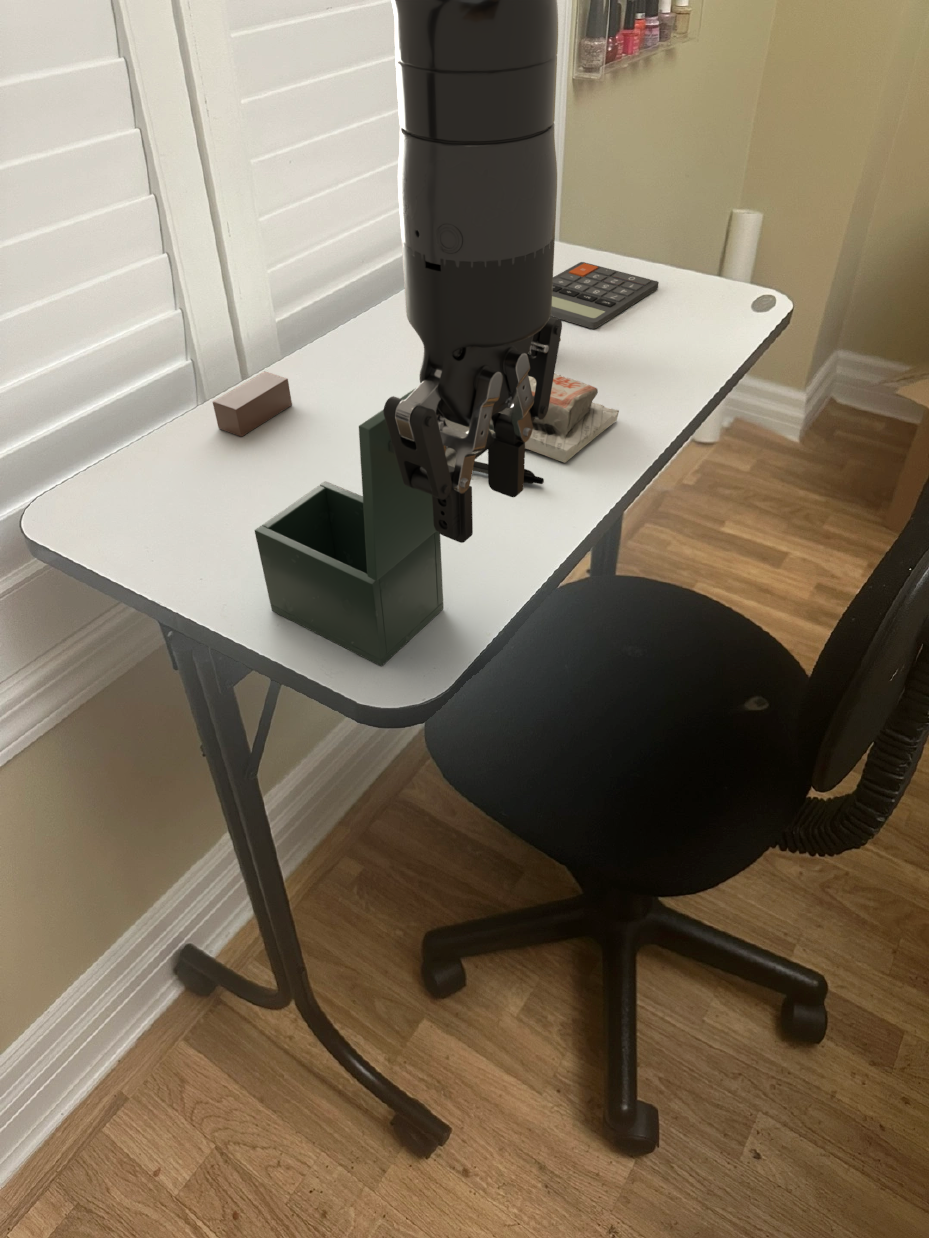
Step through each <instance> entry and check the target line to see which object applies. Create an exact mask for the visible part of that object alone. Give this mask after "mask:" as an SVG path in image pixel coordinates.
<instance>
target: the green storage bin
mask: <svg viewBox="0 0 929 1238" xmlns="http://www.w3.org/2000/svg"><path fill="white" fill-rule="evenodd" d="M254 535H255V540H256V545H257V549H258V554H259V558H260V562H261V566H262V567H261V568H262V572H263V577H264V581H265V586H266V590H267V595H268V601H269V603H270V608H271V611H272V612H274V613H276V614H277V615H280V616H282V617H283V618H285V619H287V620H288V621H289V620H290V621H292V622H293V623H295V624H297V625H299V626H301V627H303V628H305V629H307V630H308V631H311V632H312V633H315V634H317V635H318V636H321V637H323V638H325V639H327V640H329V641H331V642H332V643H334V644H336V645H338V646H340V647H342V648H345V649H346V650H348V651H350V652H352V653H354V654H356V655H358V656H359V657H362V658H364V659H365V660H368V661H370V662H372V663H374V664H376V665H378V666H380V667H383V666H384V665H385V664H386V663H387V662H388V661H390V659H391V658H393V656H394V655H396V654H397V653H398V652H399V651H400V650H401V649H402V648H403V647H404V646H405V645H407V644H408V643H409V642H410V641H411V640H412V639H413V638H415V636H416V635H417V634H418V633H419V632H420V631H421V630H423V629H424V628H425V626H427V625H428V624H429V623H430V622H431V621H432V620H433V619H435V617H436V616H437V615H439V613H441V612H442V611H443V610H444V592H443V591H444V589H443V588H444V586H443V567H442V566H443V565H442V563H443V562H442V549H441V548H442V543H441V542H442V541H441V534H440V533H439V532H438V531H436V532H434V533H433V534H432V535H431V536H430V537H428V538H427V539H426V540H425V541H424V542H422V543H421V544H420V545H419V546H418V547H416V548H415V549H414V550H413V551H412V552H410V553H409V554H408V555H407V556H406V557H405V558H403V559H402V560H401V561H400V562H399V563H397V564H396V565H395V566H394V567H393V568H391V569H390V570H389V571H388V572H387V573H385V574H384V575H383V576H382V577H381V578H379V579H378V580H377V581H375V580H373V579H371V578H369V577H368V576H367V560H366V543H365V526H364V509H363V495H361V494H358V493H356V492H354V491H352V490H348V489H346V488H344V487H341V486H338V485H337V484H334V483H332V482H329V481H327V480H324V481H323V482H321V483H320V484H319V485H317V486H316V487H314V488H313V489H311V490H310V491H309V492H307V493H306V494H305V495H303V496H302V497H300V498H298V499H297V500H296V501H294V502H292V504H290V505H288V506H287V507H285V509H283V510H281V511H280V512H278V513H277V514H276V515H274V516H273V517H271V518H270V519H268V520H267V521H265V522H264V523H263V524H261V525H259V526H258V527H256V528H255V529H254Z"/></svg>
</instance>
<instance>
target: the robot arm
mask: <svg viewBox="0 0 929 1238" xmlns="http://www.w3.org/2000/svg"><path fill="white" fill-rule="evenodd" d="M391 5H392V10H393V16H394V17H393V18H394V47H395V48H394V55H395V68H396V69H395V71H396V72H395V73H396V75H395V76H396V89H397V102H398V103H397V106H398V107H397V108H398V121H399V149H398V150H399V151H398V152H399V154H398V163H397V165H398V167H397V191H398V205H399V221H400V223H399V224H400V239H401V253H402V255H401V256H402V269H403V271H402V272H403V285H404V301H405V314H406V318H407V320H408V323H409V324H410V326H411V327H412V329H413V331H415V333H416V335H418V337H419V339H420V340H421V342H422V345H423V355H422V362H421V366H420V370H419V385H418V386H416V387H417V388H416V387H415V388H416V389H415V388H414V389H415V390H414V391H413V392H412V393H411V394H410V395H409V396H408V398H407V399H405V400H403V399H400V398H401V397H397V396H394V395H393V396H390V397H389V398H387V400H386V401H385V403H384V407H383V409H384V417H385V421H386V424H387V428H388V431H389V434H390V438H391V441H392V445H393V448H394V452H395V455H396V459H397V462H398V466H399V469H400V472H401V476H402V479H403V483H404V485H405V486H408V487H410V488H413V489H414V488H415V489H417V490H420V491H423V492H425V493H428V494H430V495H432V503H433V517H434V518H433V522H434V527H435V530H436V531H438V532H439V533H440V536H443V537H446V538H448V539H451V540H453V541H455V542H458V543H461V544H464V543H465V542H467V541H468V539H470V538H471V537H472V536H473V534H474V530H473V529H474V527H473V526H474V525H473V520H474V519H473V486H472V485H471V482H472V476H473V472H474V471H473V466H474V461H476V459H475V456H476V454H477V453H478V452H481V451H483V450H484V448H485V446H486V441H487V436H488V431H489V430H490V431H493V432H495V433H493V434H492V436H493V444H492V446H491V447H490V448H489V449H488V450H487V464H488V474H487V480H488V481H487V484H488V486H489V488H490V489H491V490H492V491H494V492H496V493H499V494H501V495H504V496H507V497H510V498H516V497H518V495H520V494H521V493H522V492H523V491H524V484H525V483H524V469H525V465H526V464H525V460H526V459H525V458H526V457H525V456H526V448H525V442H527V441H528V440H529V438H530V437H531V434H532V430H533V425H532V422H533V421H534V419H535V418H537V419H540V420H542V419H544V417H545V416H546V414H547V412H548V408H549V402H550V396H551V390H552V384H553V378H554V373H555V371H556V366H557V360H558V355H559V348H560V342H561V341H560V338H561V336H562V329H563V322H562V321H563V320H562V319H558V318H555V317H552V316H550V315H551V309H552V287H553V277H554V266H555V265H554V264H555V263H554V261H555V241H556V221H557V220H556V218H557V198H558V163H557V161H558V160H557V153H556V152H557V151H556V138H555V121H556V119H555V118H556V116H555V115H556V96H557V95H556V93H557V72H558V71H557V70H558V50H559V9H558V0H391ZM529 376H530V377H533V378H535V380H536V389H535V395H534V396H533V395H532V390H531V385H530V381H529ZM445 418H446V419H447V420H449V421H451V422H454V423H457V424H460V425H463V426H466V427H469V432H468V434H466V433H463V432H461V431H458V430H455V429H452V428H449V427H448V426H447V425H446V422H445ZM446 447H449V448H452V449H454V450H455V451H456V453H457V458H456V463H455V468H454V467H452V466H449V465H448V464H447V460H446V455H445V453H446Z"/></svg>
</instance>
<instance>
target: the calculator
mask: <svg viewBox="0 0 929 1238" xmlns="http://www.w3.org/2000/svg"><path fill="white" fill-rule="evenodd" d="M659 283H660V282H659V281H658V280H654V279H651V278H646V277H642V276H638V275H635V274H631V273H628V272H623V271H619V270H615V269H612V268H609V267H604V266H600V265H596V264H592V263H588V262H584V261H580V262H578V263H577V264H574V265H573V266H571V267H569V268H567V269H565V270H563V271H561V272H560V273H558V274H556V275H555V276H554V275H553V287H552V289H553V293H552V309H551V315H550V317H553V318H557V319H560V320H561V321H565V322H568V323H571V324H575V325H579V326H582V327H585V328H589V329H592V330H595V329H597V328H599V327H600V326H602V325H603V324H605V323H606V322H608V321H609V320H611V319H613V318H614V317H616V316H617V315H619V314H621V313H622V312H624V311H625V310H627V309H628V308H630V307H632V306H633V305H635V304H636V303H638V302H640V301H641V300H643V299H644V298H645V297H647V296H649V295H650V294H651V293H653V292H655V291H656V290H658V289H659Z"/></svg>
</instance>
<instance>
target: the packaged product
mask: <svg viewBox="0 0 929 1238" xmlns="http://www.w3.org/2000/svg"><path fill="white" fill-rule="evenodd" d="M529 381H530V385H531V390H532V395H533V396H534V395H535V389H536V380H535V378H533V377H530V376H529ZM598 390H599V389H598V388H597V387H595V386H592V385H590V384H587V383H584V382H581V381H579V380H577V379H573V378H569V377H566V376H562V375H561V374H557V373H555V372H554V378H553V384H552V390H551V396H550V402H549V408H548V412H547V414H546V416H545V417H544V419H542V420H540V419H537V418H535V419H534V421H533V422H532V425H533V430H532V434H531V437H530V438H529V440H528V441H527V442H525V450H526V449H527V450H529V451H531V452H535V453H536V454H540V455H542V456H545V457H548V458H550V459H553V460H556V461H558V462H561V463H564V464H566V463H567V462H568V461H569V460H570V459H571V458H572V457H574V456H575V455H576V454H577V453H579V452H580V451H581V450H582V449H584V447H586V446H587V445H588V444H589V443H591V442H592V441H593V440H594V439H595V438H596V437H598V436H599V435H600V434H602V433H603V432H604V431H605V430H607V428H609V427H611V425H613V424H615V423H616V422H617V421H618V417H619V413H620V409H614V408H610V407H605V405H603V404H600V403H596V402H593V401H594V400H595V398H596V396H597V395H598V392H599V391H598ZM465 427H466V426H465ZM468 428H469V427H468ZM489 431H490V430H489ZM490 432H491V434H493V433H495V432H493V431H490Z"/></svg>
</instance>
